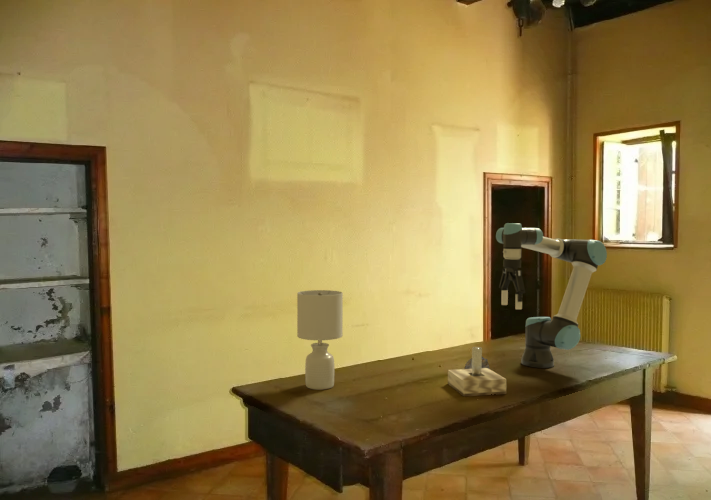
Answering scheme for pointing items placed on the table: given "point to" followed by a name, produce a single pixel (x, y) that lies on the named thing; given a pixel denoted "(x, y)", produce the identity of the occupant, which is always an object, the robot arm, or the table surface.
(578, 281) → the robot arm
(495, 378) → the bore block
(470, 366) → the rock
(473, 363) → the pin
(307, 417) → the table surface
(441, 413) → the table surface
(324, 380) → the lamp
